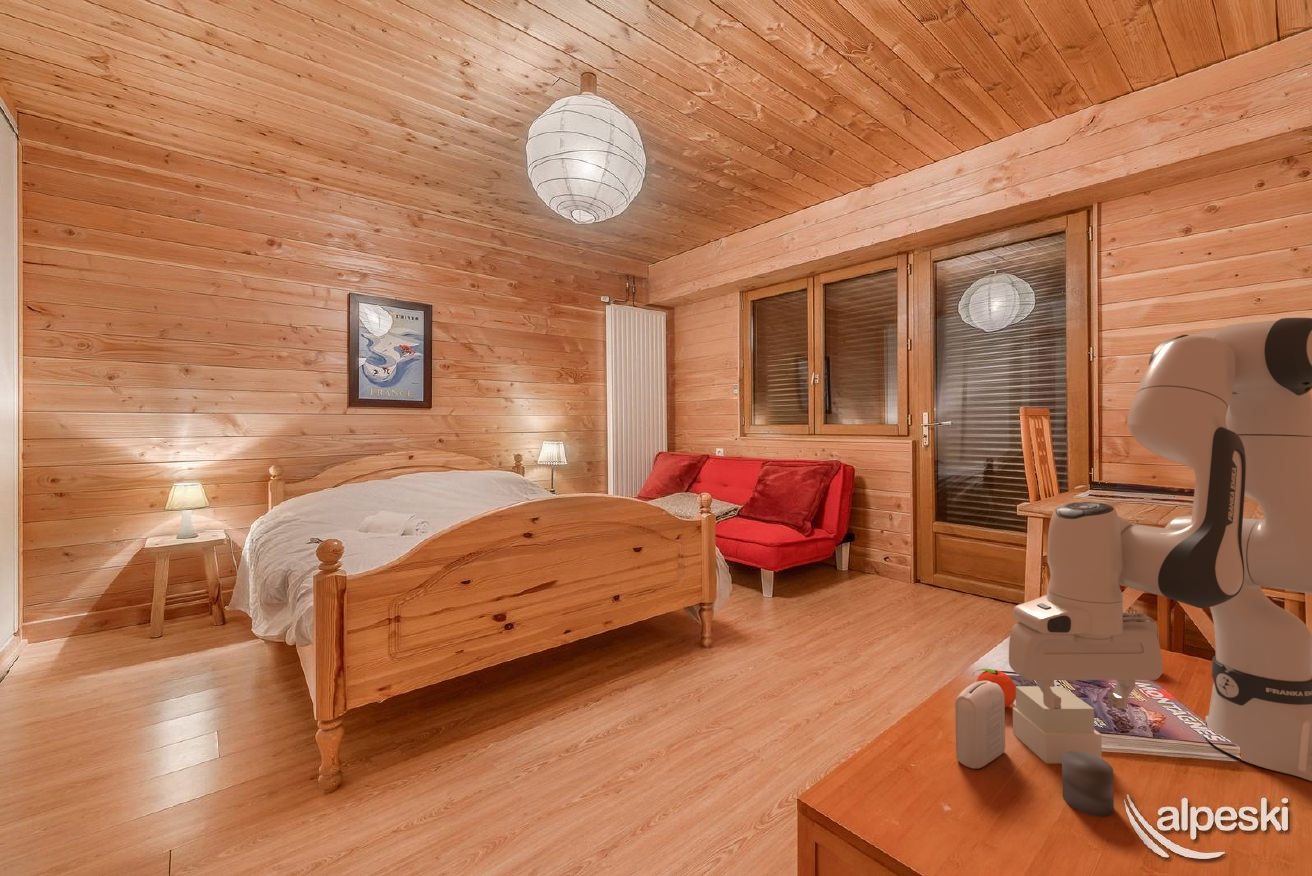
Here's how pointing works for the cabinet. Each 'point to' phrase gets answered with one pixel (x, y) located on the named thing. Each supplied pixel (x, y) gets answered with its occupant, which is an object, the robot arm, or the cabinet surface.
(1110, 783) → the charcoal cylinder
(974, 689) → the photo printer
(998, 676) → the clementine
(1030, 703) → the tower top block
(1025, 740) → the tower bottom block
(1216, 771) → the cabinet surface
